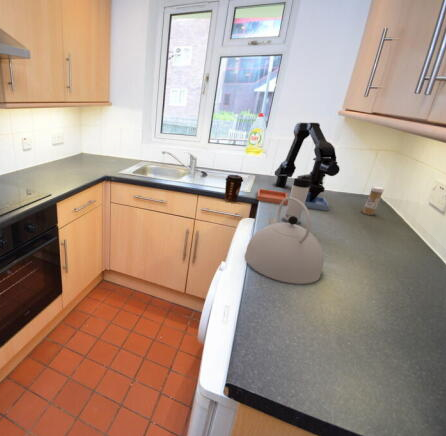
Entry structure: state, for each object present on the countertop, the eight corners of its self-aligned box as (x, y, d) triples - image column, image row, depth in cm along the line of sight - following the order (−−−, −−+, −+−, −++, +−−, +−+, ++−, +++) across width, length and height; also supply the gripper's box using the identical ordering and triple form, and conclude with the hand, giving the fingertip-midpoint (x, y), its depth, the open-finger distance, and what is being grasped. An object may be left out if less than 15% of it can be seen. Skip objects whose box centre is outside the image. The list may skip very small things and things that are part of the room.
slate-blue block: (304, 199, 159) (306, 191, 157) (313, 201, 157) (316, 193, 155) (305, 202, 155) (307, 194, 153) (314, 203, 153) (317, 195, 152)
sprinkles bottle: (360, 212, 147) (369, 186, 142) (367, 211, 148) (377, 185, 142) (368, 215, 143) (378, 188, 137) (376, 215, 143) (387, 188, 138)
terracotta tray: (257, 192, 171) (258, 188, 170) (286, 197, 166) (287, 192, 165) (256, 200, 159) (257, 195, 158) (287, 204, 154) (288, 200, 153)
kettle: (233, 243, 112) (245, 186, 103) (294, 245, 112) (310, 188, 103) (260, 282, 89) (278, 212, 80) (336, 285, 89) (363, 215, 80)
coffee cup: (237, 197, 162) (241, 174, 157) (241, 203, 154) (246, 178, 149) (220, 196, 163) (224, 173, 158) (224, 202, 155) (228, 177, 150)
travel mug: (284, 222, 132) (296, 179, 124) (282, 217, 137) (293, 175, 130) (300, 225, 130) (313, 180, 122) (297, 219, 135) (310, 177, 128)
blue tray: (292, 197, 165) (293, 193, 164) (323, 201, 160) (324, 197, 159) (294, 205, 153) (295, 201, 152) (327, 210, 148) (329, 205, 147)
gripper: (299, 165, 160) (291, 192, 167) (302, 172, 145) (294, 202, 151) (323, 168, 156) (314, 196, 162) (329, 175, 141) (319, 206, 147)
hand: (310, 200), depth 156 cm, fingers closed on slate-blue block, 4 cm apart
